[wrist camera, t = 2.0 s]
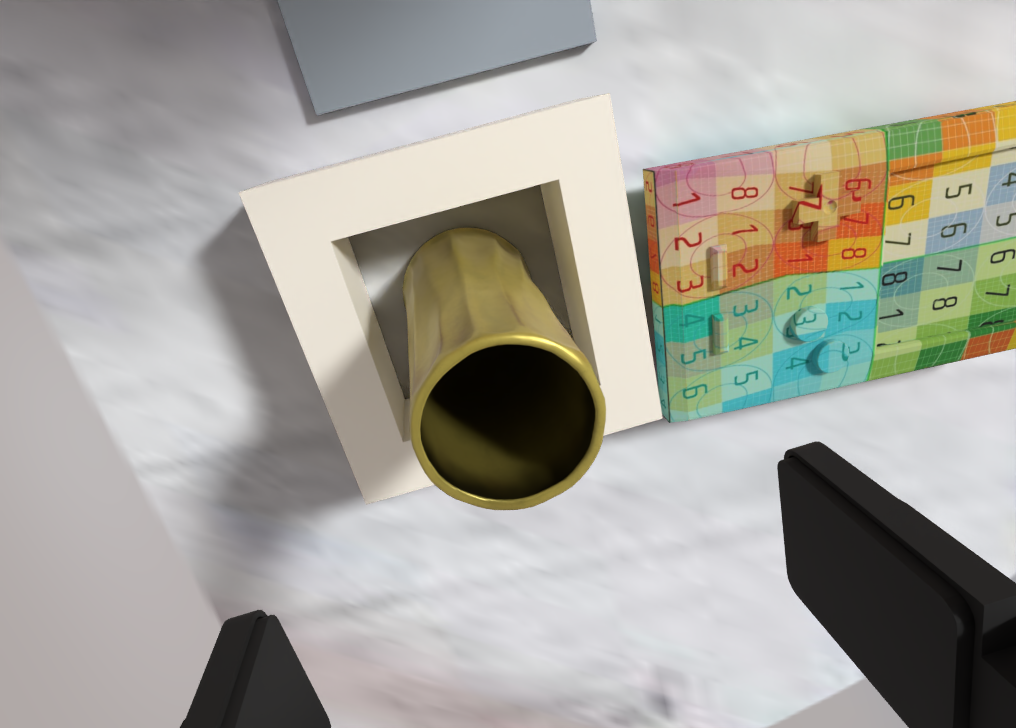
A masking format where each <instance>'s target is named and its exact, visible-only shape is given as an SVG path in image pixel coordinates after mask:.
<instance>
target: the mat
mask: <svg viewBox="0 0 1016 728" xmlns="http://www.w3.org/2000/svg"><path fill="white" fill-rule="evenodd" d="M277 2H278V4H279V7H280V10H281V13H282V16H283V19H284V22H285V25H286V28H287V31H288V34H289V37H290V40H291V42H292V45H293V48H294V51H295V54H296V57H297V60H298V63H299V66H300V69H301V72H302V75H303V78H304V80H305V83H306V86H307V89H308V92H309V95H310V98H311V101H312V104H313V107H314V110H315V113H316V115H321V114H325V113H329V112H333V111H337V110H340V109H344V108H348V107H352V106H356V105H359V104H363V103H367V102H371V101H375V100H378V99H382V98H386V97H390V96H393V95H397V94H401V93H405V92H409V91H412V90H416V89H420V88H424V87H428V86H431V85H435V84H439V83H443V82H447V81H450V80H454V79H458V78H462V77H465V76H469V75H473V74H477V73H481V72H484V71H488V70H492V69H496V68H500V67H503V66H507V65H511V64H515V63H519V62H522V61H526V60H530V59H534V58H538V57H541V56H545V55H549V54H553V53H556V52H560V51H564V50H568V49H572V48H575V47H579V46H583V45H587V44H591V43H594V42H596V41H597V39H596V33H595V27H594V21H593V15H592V9H591V3H590V0H277Z"/></svg>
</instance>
